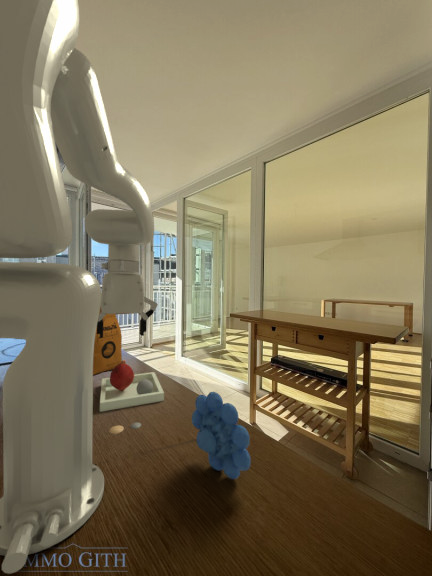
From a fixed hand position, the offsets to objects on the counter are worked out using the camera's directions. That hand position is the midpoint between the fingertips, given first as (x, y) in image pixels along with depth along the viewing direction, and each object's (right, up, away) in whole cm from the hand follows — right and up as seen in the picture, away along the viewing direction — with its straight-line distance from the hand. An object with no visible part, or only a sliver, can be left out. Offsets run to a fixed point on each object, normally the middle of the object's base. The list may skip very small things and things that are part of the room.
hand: (122, 335), depth 62 cm
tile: (+6, -16, -14) cm, 22 cm away
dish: (+2, -15, 0) cm, 15 cm away
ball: (+6, -15, -1) cm, 16 cm away
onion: (-1, -15, +1) cm, 15 cm away
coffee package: (-14, -15, +16) cm, 26 cm away
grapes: (+24, -17, -24) cm, 38 cm away
